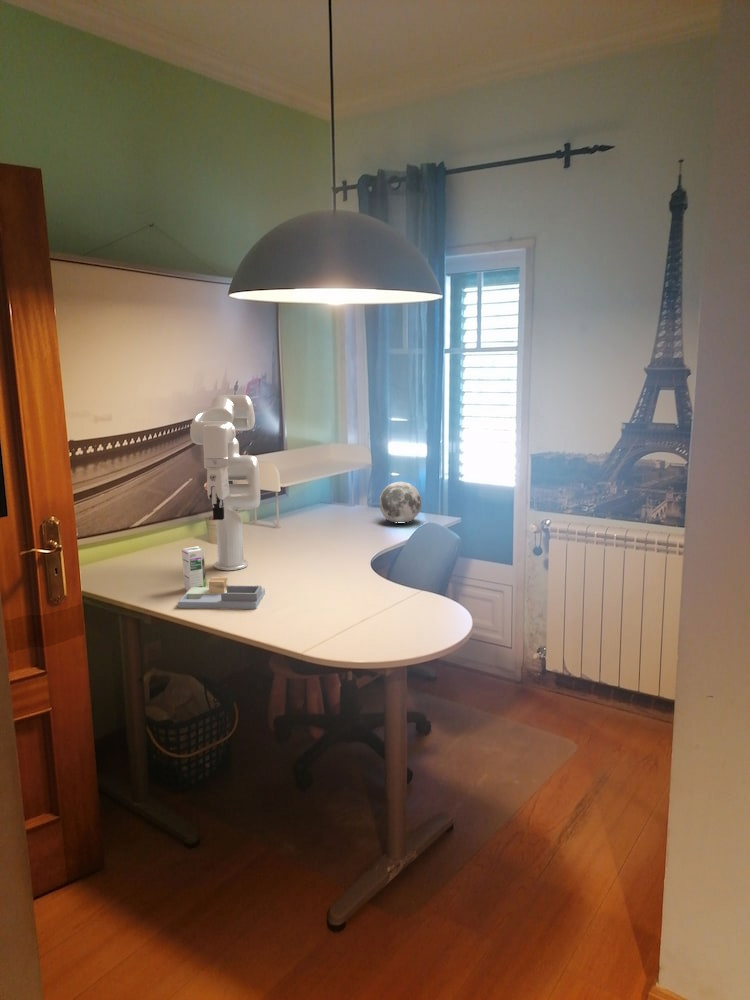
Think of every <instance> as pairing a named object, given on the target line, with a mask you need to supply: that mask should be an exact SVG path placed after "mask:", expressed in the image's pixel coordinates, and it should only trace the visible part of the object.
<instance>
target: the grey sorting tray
mask: <svg viewBox="0 0 750 1000" xmlns="http://www.w3.org/2000/svg"><path fill="white" fill-rule="evenodd" d="M265 594H266V589H265V587H263V586H262V585H229V584H228V585H227V590H226V592H225V593H209V586H208V587H207V586H206V587H191V588H190V589H189V590H188V591H186V592H185V594H184V595H182V597H181V598H180V599H179V600H177V601H178V602H177V605H178V609H236V610H237V609H240V610H241V609H242V610H243V609H246V610H247V609H248V610H253V609H255V610H256V609H257V608H258V606H259V605H260V603H261V601H262V600H263V598H264V596H265Z"/></svg>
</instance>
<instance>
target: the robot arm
mask: <svg viewBox="0 0 750 1000" xmlns="http://www.w3.org/2000/svg"><path fill="white" fill-rule="evenodd" d="M255 423H256V416H255V409H254V405H253V402H252V400H251V398H250V396H248V395H246V394H220V395H219V394H218V395H216V396H215V397H214V398H213V399H212V401H211V403H210V407H209V409H206V410H204V411H202V412H199V413H198V414H196V415H195V416H194V417H193V419H192V421H191V425H190V428H189V429H190V431H189V433H190V434H189V435H190V439H191V441H192V443H193V444H195V445H198V446H199V445H201V446H203V465H204V469H206V470H207V471H206V485H207V486H206V489H207V497H208V500H211V505H212V518H213V520H215V521H216V541H217V561H215V562H214V566H213V567H214V568H215V569H217V570H221V571H236V570H237V571H238V570H242V569H244V568H246V567H248V565H249V562H248V561H247V560H246V559H244V539H243V537H244V535H243V534H244V533H243V520H242V518H241V516H240V515H239V514H238V512H237V510H254V509H257V508H259V506H260V504H261V473H260V472H261V471H260V463H259V460H258V458H257V457H256V456H254V455H252V454H251V455H250V454H247V455H246V454H245V455H241V454H240V443H239V441H238V439H237V438H236V434H237V433H236V431H249V430H250V431H251V430H252V429H254V426H255ZM230 481H231V482H237V481H238V482H239V481H240V482H243V481H245V482H247V483H229V482H230Z"/></svg>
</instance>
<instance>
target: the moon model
mask: <svg viewBox="0 0 750 1000" xmlns="http://www.w3.org/2000/svg"><path fill="white" fill-rule="evenodd" d="M378 503H379V504H378V505H379V510H380V513H381V514H382V516H383V517H384V518H385V519H386V520H387V521H389V522H391V523H393V522H397V523H398V522H407V523H410V522H411V521H413V520H414V519H415V518H416V517H417V516H418V515H419V513H420V511H421V509H422V497H421V494H420V491H418V489H417V488H416V487H415V486H414V485H412V484H411V483H409V482H406V481H396V482H391V483H390V484H388V485H387V486H386V487H385V488H384V489H383V490H382V491H381V494H380V496H379V502H378ZM409 521H410V522H409ZM397 523H396V524H397Z"/></svg>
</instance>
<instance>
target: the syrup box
mask: <svg viewBox="0 0 750 1000" xmlns="http://www.w3.org/2000/svg"><path fill="white" fill-rule="evenodd" d="M181 555H182V570H183V571H182V572H183V585H184V586H183V587H184V589H185V590H186V592H188V590H189V589H190V588H191V587H207V583H206V566H205V565H206V563H205V562H206V561H205V549H204V548H202V547H201V546H198V545H197V546H193V547H187V548H181Z"/></svg>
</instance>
